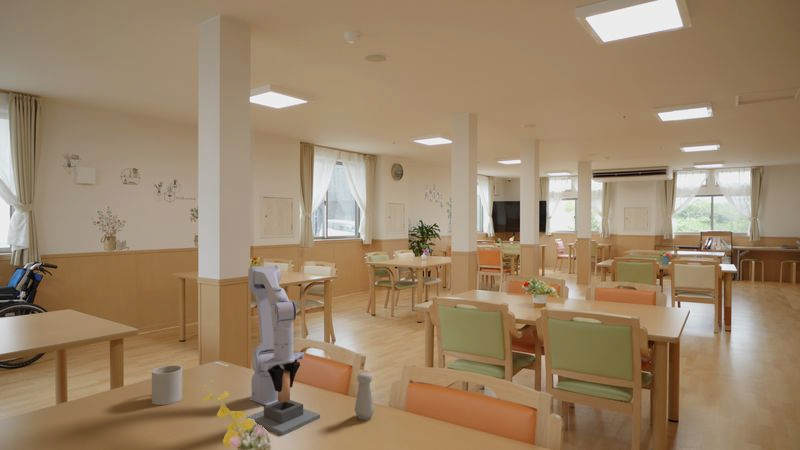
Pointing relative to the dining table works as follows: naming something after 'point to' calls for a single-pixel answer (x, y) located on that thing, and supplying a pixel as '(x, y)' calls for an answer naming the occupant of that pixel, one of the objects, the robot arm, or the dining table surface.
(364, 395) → the salt shaker
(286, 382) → the peg
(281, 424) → the socket board
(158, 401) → the grey cup
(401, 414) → the dining table surface
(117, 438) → the dining table surface
